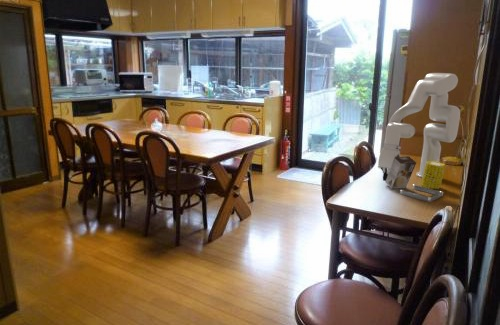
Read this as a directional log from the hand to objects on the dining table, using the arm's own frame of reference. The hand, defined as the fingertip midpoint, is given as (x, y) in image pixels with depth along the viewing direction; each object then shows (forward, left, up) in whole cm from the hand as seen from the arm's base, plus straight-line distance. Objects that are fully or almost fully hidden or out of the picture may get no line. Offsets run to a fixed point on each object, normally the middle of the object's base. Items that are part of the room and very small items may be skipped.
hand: (385, 180), depth 199 cm
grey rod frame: (0, +20, -3) cm, 20 cm away
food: (-16, +18, -3) cm, 24 cm away
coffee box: (-1, +5, -2) cm, 5 cm away
